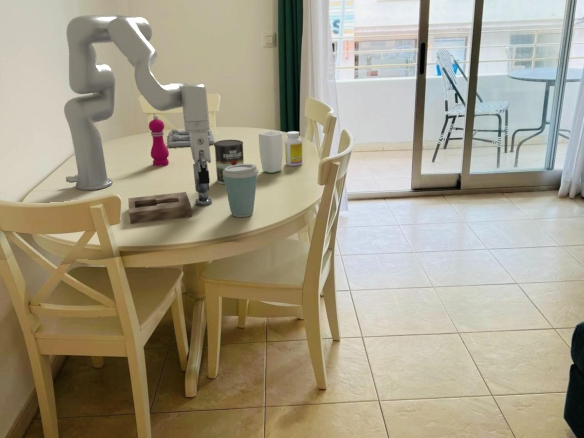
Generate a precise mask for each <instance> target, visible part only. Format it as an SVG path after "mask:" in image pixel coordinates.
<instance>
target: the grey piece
mask: <svg viewBox="0 0 584 438" xmlns="http://www.w3.org/2000/svg"><path fill="white" fill-rule="evenodd" d="M212 132H213V131H212V129H210V130H209V131H207V135H208V141H209V146H214V143H215V142H216V141H215V138H214V136H213V133H212ZM167 136H168V139H167V148H169V149H172V148H173V149H175V148H187V147H188V148H189V147H190V148H191V145H190V136H189V132H185V129H183V130H179V129H178V128H172V129H171V130H170V132H168V135H167Z"/></svg>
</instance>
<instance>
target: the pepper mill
mask: <svg viewBox="0 0 584 438" xmlns="http://www.w3.org/2000/svg"><path fill="white" fill-rule="evenodd" d="M158 118H159V117H158V115H154V116H153V119H152V120H150V121H149V123H148V129H149V131H151V132H150V136H151V137H152V145H151V150H150V157H151V158H152V159H153V160H152V165H153V166H154V167H164V166H168V165H169V163H170V162H169V159H168V157H169V155H170V153H169V149H168V146H167V145H166V143H165V141H164V135H165V134H164V132H165V131H164V129H165V124H164V121H163V120H161V119H158Z"/></svg>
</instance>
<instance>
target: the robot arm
mask: <svg viewBox="0 0 584 438" xmlns="http://www.w3.org/2000/svg"><path fill="white" fill-rule="evenodd" d="M152 37H153V29H152V26H151V24H150V23H149V22H148V21H147V20H146V19H145V18H143V17H141V16H137V15H136V16H135V15H134V16H131V15H119V14H118V15H117V14H100V15H99V14H90V15H88V14H87V15H79V16H75V17H74V18H72V19H71V20H70V21H69V22H68V24H67V27H66V40H67V46H68V83H69V87H70V90H71V91H72V92H73V93H75V94H78V95H82V96H76V97H72V98H71V99H68V101H66V103H65V104H64V107H63V111H64V112H63V113H64V117H65V119H66V122H67V124H68V127H69V131H70V136H71V139H72V146H73V151H74V156H75V163H76V168H77V174H75V175H74V176H65V180H66V181H65V183H75V187H76V189H78V190H81V191H96V190H100V189H104V188H108V187H110V186H111V185H112V184H113V179H112V178H110V177H108V174H107V167H106V162H105V156H104V148H103V142H102V136H101V134H100V132H99V129H97V127H96V126H95V123H97V122H98V123H99V122H103V121H106V120H109V119H110V118H111V117H112V116H113V115H114V111H115V102H116V101H115V99H116V98H115V97H116V95H115V94H116V78H115V73H114V72H113V69H112V68H111V66H109V65H107V64H106V63H104V62H97V58H98V57H97V51H96V48H95V46H94V44H107V43H109V44H110V43H113V44H114V45H115V46H116V47H117V49H119V51H120V53H122V55H123V56H124V57H125V58H126V59H127V61H128V62H129V64H130V65H131V66H132V67H133V69H134V79H135V83H136V87H137V90H138V91H139V93H140V95H141V96H142V97H143V98H144V99H145V100H146V102H147V103H148V104H149V105H150V106H151V107H152V108H153V109H154V110H157V111H160V112H166V111H169V110H174V109H179V108H182V115H183V123H184V130H185V132H189V136H190V145H191V147H190V150H191V151H190V152H191V156H192V159H193V161H194V164H195V163H196V164H198V169H199V171H198V176H199V184H207V183H209V184H210V183H211V181H210V172H209V167H208V164H210V163H211V162H212V159H211V151H210V145H209V141H208V135H207V131H209V130H211V129H210V117H209V106H208V95H207V88H206V86H205V85H204V84H202V83H186V82H181V81H179V82H178V81H177V82H172V83H166V84H165V83H164V84H160V82H159V81H158V80H157V78H155V76H154V75H153V73H152V71H151V67H152V66H153V65H154V63H155V62H156V61H157V58H158V53H157V51H156V50H155V48H154V47H153V46H152V45H151V44H150V40H151V39H152ZM200 167H201V168H200Z"/></svg>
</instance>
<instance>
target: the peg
mask: <svg viewBox="0 0 584 438" xmlns="http://www.w3.org/2000/svg"><path fill="white" fill-rule="evenodd" d="M192 167H193V177H194V187H195V192H196V193H197V195H198V198H196V199H195V200H194V202H195V203H194V204H195V205H196V206H198V207H205V206H209V205H212V203H213V201H212V198H211V197H209V194H208V192H209V191H210V183H207V184H199V176H198V171H199V169H198V164H196V163H195V162H194V163H193V164H192ZM200 168H201V167H200Z"/></svg>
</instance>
